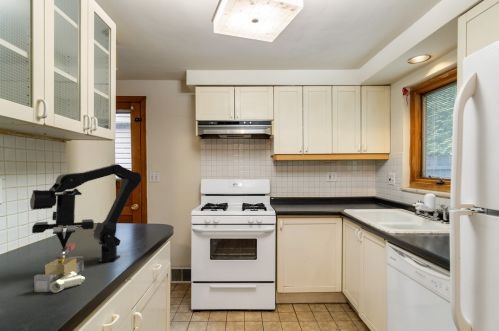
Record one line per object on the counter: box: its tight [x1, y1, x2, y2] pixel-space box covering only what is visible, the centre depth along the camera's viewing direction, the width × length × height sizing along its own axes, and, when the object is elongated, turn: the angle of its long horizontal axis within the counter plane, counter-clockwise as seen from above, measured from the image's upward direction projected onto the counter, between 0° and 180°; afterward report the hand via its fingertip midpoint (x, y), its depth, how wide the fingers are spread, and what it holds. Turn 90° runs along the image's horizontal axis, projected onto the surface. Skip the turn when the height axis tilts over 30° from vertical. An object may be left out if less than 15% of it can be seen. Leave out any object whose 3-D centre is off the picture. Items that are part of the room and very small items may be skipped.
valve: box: [33, 256, 85, 293], centre depth 93 cm, size 18×6×8 cm, turn 1°
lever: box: [54, 242, 76, 260], centre depth 98 cm, size 13×3×2 cm, turn 16°
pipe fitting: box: [50, 271, 86, 294], centre depth 88 cm, size 8×4×7 cm
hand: (63, 248), depth 100 cm, fingers closed
